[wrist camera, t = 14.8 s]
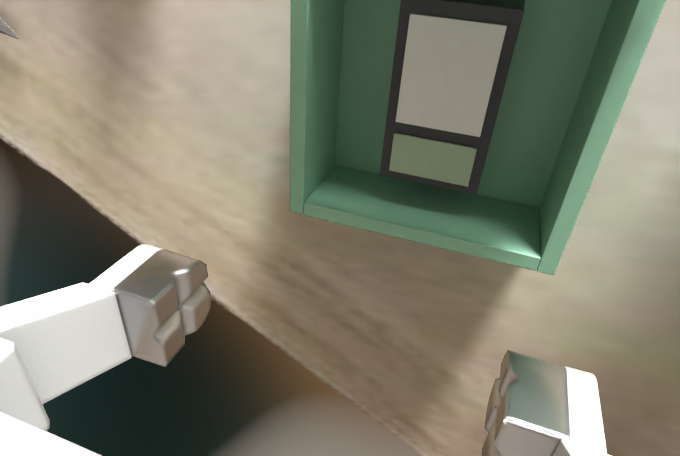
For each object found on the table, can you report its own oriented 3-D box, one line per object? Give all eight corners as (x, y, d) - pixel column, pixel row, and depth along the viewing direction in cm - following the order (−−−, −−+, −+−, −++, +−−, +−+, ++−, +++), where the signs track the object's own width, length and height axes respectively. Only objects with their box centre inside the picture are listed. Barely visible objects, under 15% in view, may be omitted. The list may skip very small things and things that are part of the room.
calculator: (416, -13, 22) (400, -5, 20) (525, -1, 21) (524, 9, 18) (393, 151, 27) (378, 176, 24) (481, 168, 26) (475, 197, 23)
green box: (550, 215, 27) (553, 275, 22) (326, 168, 30) (289, 212, 25) (647, -51, 20) (683, -44, 15) (339, -76, 23) (290, -76, 18)
